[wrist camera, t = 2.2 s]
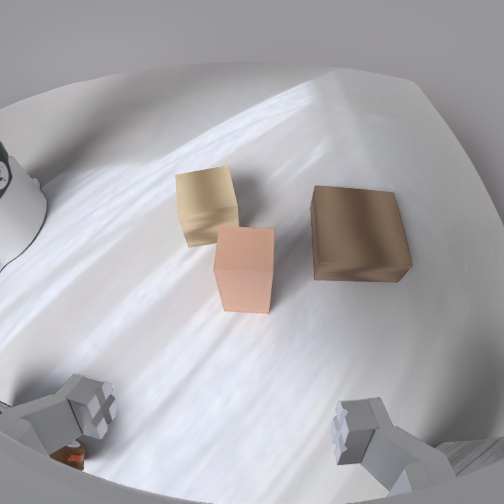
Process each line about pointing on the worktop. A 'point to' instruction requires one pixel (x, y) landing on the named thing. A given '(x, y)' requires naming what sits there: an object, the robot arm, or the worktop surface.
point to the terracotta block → (245, 268)
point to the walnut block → (357, 235)
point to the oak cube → (206, 204)
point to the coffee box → (472, 454)
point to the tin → (64, 450)
